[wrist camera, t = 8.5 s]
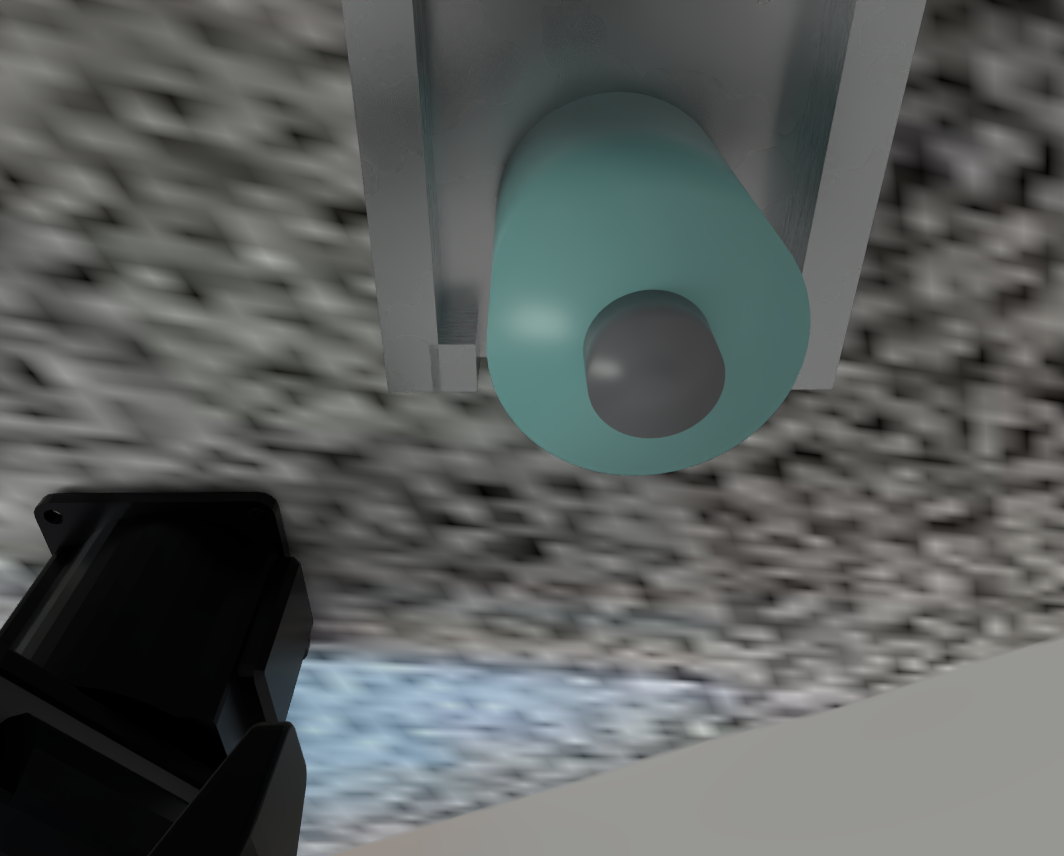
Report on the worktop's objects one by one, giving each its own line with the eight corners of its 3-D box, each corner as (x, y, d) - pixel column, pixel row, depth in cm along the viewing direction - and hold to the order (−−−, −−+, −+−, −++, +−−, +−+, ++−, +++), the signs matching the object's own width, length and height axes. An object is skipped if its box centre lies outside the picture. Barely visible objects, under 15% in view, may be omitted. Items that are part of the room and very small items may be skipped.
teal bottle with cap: (499, 318, 19) (489, 515, 13) (492, 92, 16) (476, 216, 10) (712, 316, 19) (796, 511, 13) (743, 90, 16) (867, 213, 10)
